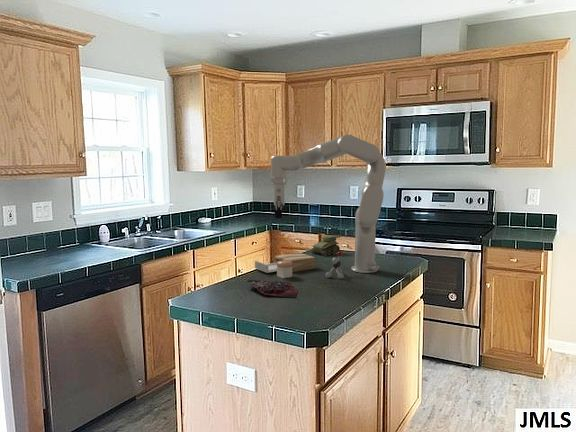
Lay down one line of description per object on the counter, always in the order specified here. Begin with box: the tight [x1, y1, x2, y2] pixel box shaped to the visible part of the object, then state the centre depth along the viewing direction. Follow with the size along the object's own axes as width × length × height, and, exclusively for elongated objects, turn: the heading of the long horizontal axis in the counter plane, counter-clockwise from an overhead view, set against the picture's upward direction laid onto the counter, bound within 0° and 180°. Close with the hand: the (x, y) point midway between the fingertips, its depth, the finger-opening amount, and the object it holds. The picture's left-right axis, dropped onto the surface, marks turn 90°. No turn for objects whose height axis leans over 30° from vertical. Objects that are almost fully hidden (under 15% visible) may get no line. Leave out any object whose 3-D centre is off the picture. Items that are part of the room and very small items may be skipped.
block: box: [276, 266, 293, 279], centre depth 221 cm, size 5×5×5 cm
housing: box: [274, 252, 317, 273], centre depth 239 cm, size 14×15×5 cm
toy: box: [311, 234, 342, 257], centre depth 275 cm, size 10×18×10 cm, turn 132°
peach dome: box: [277, 261, 293, 267], centre depth 221 cm, size 7×7×2 cm
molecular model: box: [325, 250, 344, 280], centre depth 223 cm, size 8×12×11 cm
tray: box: [254, 260, 277, 274], centre depth 232 cm, size 11×14×4 cm
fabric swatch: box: [246, 279, 298, 298], centre depth 199 cm, size 20×21×3 cm
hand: (278, 216), depth 234 cm, fingers open, 9 cm apart
